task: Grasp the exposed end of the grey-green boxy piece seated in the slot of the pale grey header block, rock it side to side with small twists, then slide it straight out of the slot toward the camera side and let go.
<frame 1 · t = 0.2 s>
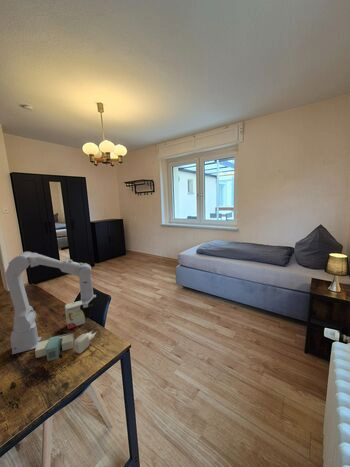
hand: (89, 313, 99), 10 cm above the table, fingers open, 7 cm apart
header block: (56, 346, 91), on the table
ink box: (76, 324, 107), on the table
power adapter: (86, 345, 91), on the table
grey-green boxy piece: (54, 353, 87), on the table
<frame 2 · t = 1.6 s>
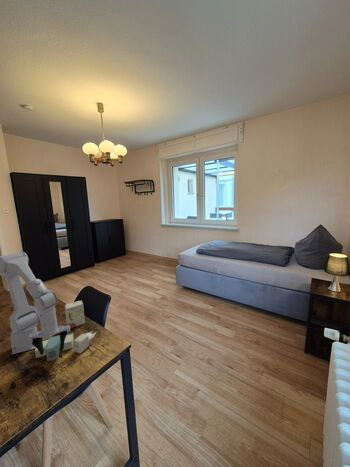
hand: (52, 350, 84), 3 cm above the table, fingers open, 7 cm apart
nothing on the table moved.
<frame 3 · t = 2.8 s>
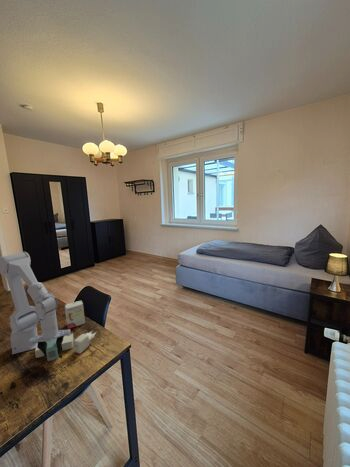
hand: (53, 354, 84), 1 cm above the table, fingers closed on grey-green boxy piece, 4 cm apart
grey-green boxy piece: (54, 353, 87), on the table, touching gripper
everything else where it was.
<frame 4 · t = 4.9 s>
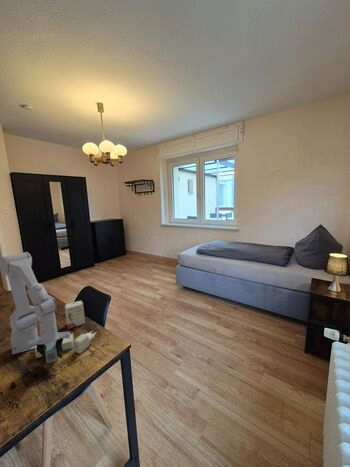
hand: (52, 356, 83), 1 cm above the table, fingers closed on grey-green boxy piece, 4 cm apart
grey-green boxy piece: (54, 355, 85), on the table, touching gripper
everything else where it was.
when the fingers open (1 cm above the table, at t = 7.1 s): grey-green boxy piece stays where it is, on the table.
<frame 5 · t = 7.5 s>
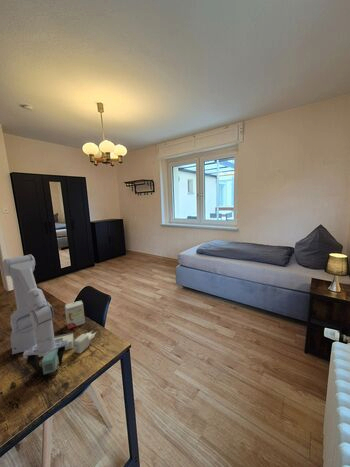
hand: (49, 367, 77), 1 cm above the table, fingers open, 7 cm apart
grey-green boxy piece: (51, 365, 80), on the table
everything else where it was.
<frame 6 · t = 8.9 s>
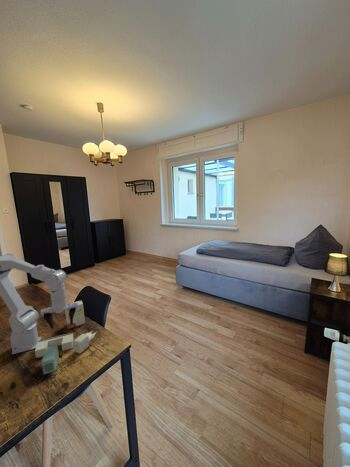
hand: (62, 325, 89), 10 cm above the table, fingers open, 7 cm apart
nothing on the table moved.
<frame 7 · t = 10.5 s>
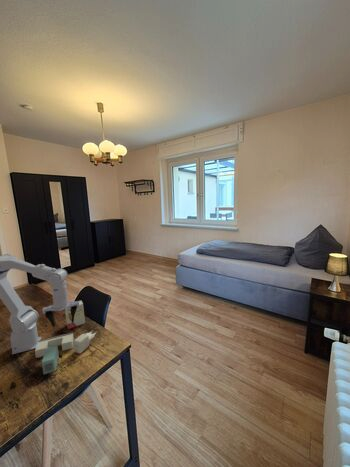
hand: (63, 323, 91), 10 cm above the table, fingers open, 7 cm apart
nothing on the table moved.
at the end: grey-green boxy piece inside the target area (5.8 cm from its centre), on the table; grey-green boxy piece moved 7.0 cm from its start; the gripper is holding nothing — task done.
